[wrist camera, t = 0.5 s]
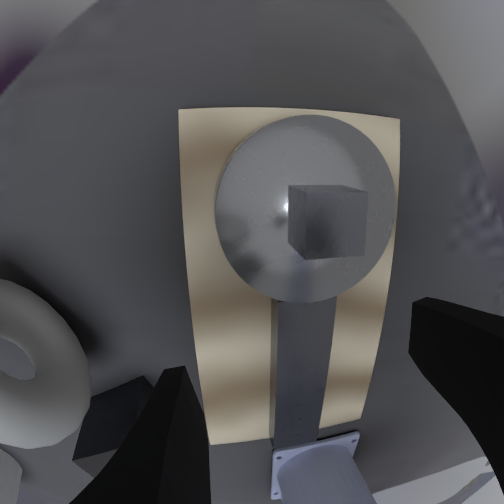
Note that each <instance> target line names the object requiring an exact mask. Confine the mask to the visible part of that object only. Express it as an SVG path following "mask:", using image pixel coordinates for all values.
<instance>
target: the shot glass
mask: <svg viewBox="0 0 504 504" xmlns="http://www.w3.org/2000/svg"><path fill="white" fill-rule="evenodd" d="M22 471H23V470H22V468H21V466H20V465H19V463H18V462H17V461H16V460H15V459H14V458H13V457H11V456H10V455H9V454H8V453H7V452H5V451H3V450H2V449H0V504H16V501H17V496H18V490H19V485H20V480H21V475H22Z"/></svg>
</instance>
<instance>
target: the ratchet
mask: <svg viewBox="0 0 504 504" xmlns="http://www.w3.org/2000/svg"><path fill="white" fill-rule="evenodd" d="M213 214H214V222H215V226H216V230H217V234H218V237H219V241H220V244H221V247H222V249H223V252H224V254H225V256H226V258H227V260H228V261H229V263H230V265H231V267H232V268H233V269H234V270H235V272H236V273H237V274H238V275H239V276H240V277H241V278H242V279H243V280H244V281H245V282H246V283H247V284H248V285H249V286H251V287H252V288H254V289H255V290H256V291H258V292H260V293H262V294H264V295H266V296H268V297H271V354H270V406H269V436H270V440H271V443H272V446H273V450H274V449H280V448H285V447H291V446H296V445H301V444H306V443H311V442H315V441H317V435H318V430H319V425H320V419H321V413H322V408H323V402H324V395H325V389H326V383H327V376H328V369H329V362H330V355H331V347H332V339H333V331H334V322H335V313H336V303H337V295H339V294H341V293H343V292H345V291H347V290H348V289H350V288H352V287H353V286H355V285H356V284H357V283H358V282H360V281H361V280H362V279H363V278H364V277H365V276H366V275H367V274H368V273H369V272H370V271H371V270H372V269H373V268H374V266H375V265H376V264H377V262H378V261H379V259H380V258H381V256H382V255H383V253H384V251H385V249H386V247H387V245H388V242H389V240H390V237H391V234H392V231H393V227H394V223H395V215H396V193H395V186H394V182H393V178H392V175H391V172H390V169H389V166H388V164H387V162H386V161H385V159H384V157H383V155H382V154H381V152H380V151H379V149H378V148H377V147H376V145H375V144H374V143H373V142H372V141H371V140H370V139H369V138H368V137H367V136H366V135H365V134H363V133H362V132H361V131H360V130H358V129H357V128H355V127H354V126H352V125H350V124H348V123H346V122H344V121H341V120H339V119H336V118H332V117H329V116H322V115H298V116H292V117H288V118H285V119H281V120H278V121H275V122H273V123H270V124H267V125H265V126H263V127H261V128H259V129H257V130H255V131H254V132H252V133H251V134H249V135H248V136H247V137H246V138H244V139H243V140H242V141H241V142H240V143H239V144H238V145H237V146H236V147H235V148H234V150H233V151H232V152H231V153H230V155H229V156H228V158H227V159H226V161H225V163H224V164H223V167H222V169H221V171H220V173H219V176H218V179H217V182H216V186H215V191H214V197H213Z"/></svg>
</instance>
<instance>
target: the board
mask: <svg viewBox="0 0 504 504" xmlns="http://www.w3.org/2000/svg"><path fill="white" fill-rule="evenodd" d="M298 115H322V116H329V117H332V118H336V119H339V120H341V121H344V122H346V123H348V124H350V125H352V126H354V127H355V128H357V129H358V130H360V131H361V132H362V133H363V134H365V135H366V136H367V137H368V138H369V139H370V140H371V141H372V142H373V143H374V144H375V145H376V147H377V148H378V149H379V151H380V152H381V154H382V155H383V157H384V159H385V161H386V162H387V164H388V166H389V169H390V172H391V175H392V178H393V182H394V186H395V193H396V215H395V223H394V227H393V231H392V234H391V237H390V240H389V242H388V245H387V247H386V249H385V251H384V253H383V255H382V256H381V258H380V259H379V261H378V262H377V264H376V265H375V266H374V268H373V269H372V270H371V271H370V272H369V273H368V274H367V275H366V276H365V277H364V278H363V279H362V280H361V281H360V282H358V283H357V284H356V285H355V286H353V287H352V288H350V289H348V290H347V291H345V292H343V293H341V294H339V295H337V303H336V313H335V322H334V331H333V339H332V347H331V355H330V362H329V369H328V376H327V383H326V389H325V395H324V402H323V408H322V413H321V419H320V425H319V428H324V427H328V426H332V425H336V424H341V423H345V422H348V421H352V420H356V419H360V418H361V414H362V411H363V407H364V403H365V400H366V396H367V392H368V388H369V384H370V380H371V376H372V372H373V367H374V363H375V359H376V354H377V349H378V344H379V340H380V335H381V329H382V324H383V319H384V313H385V307H386V301H387V295H388V288H389V281H390V274H391V266H392V258H393V250H394V240H395V230H396V219H397V206H398V189H399V164H400V119H395V118H388V117H381V116H374V115H366V114H357V113H348V112H338V111H326V110H312V109H294V108H263V107H229V108H198V109H180V110H179V149H180V175H181V195H182V212H183V227H184V240H185V253H186V265H187V276H188V286H189V296H190V306H191V315H192V324H193V332H194V341H195V349H196V356H197V364H198V371H199V378H200V385H201V392H202V398H203V405H204V411H205V417H206V423H207V429H208V435H209V441H210V445H214V444H225V443H234V442H243V441H251V440H258V439H265V438H270V436H269V406H270V354H271V297H268V296H266V295H264V294H262V293H260V292H258V291H256V290H255V289H254V288H252V287H251V286H249V285H248V284H247V283H246V282H245V281H244V280H243V279H242V278H241V277H240V276H239V275H238V274H237V273H236V272H235V270H234V269H233V268H232V267H231V265H230V263H229V261H228V260H227V258H226V256H225V254H224V252H223V249H222V247H221V244H220V241H219V237H218V234H217V230H216V226H215V222H214V214H213V197H214V191H215V186H216V182H217V179H218V176H219V173H220V171H221V169H222V167H223V164H224V163H225V161H226V159H227V158H228V156H229V155H230V153H231V152H232V151H233V150H234V148H235V147H236V146H237V145H238V144H239V143H240V142H241V141H242V140H243V139H244V138H246V137H247V136H248V135H249V134H251V133H252V132H254V131H255V130H257V129H259V128H261V127H263V126H265V125H267V124H270V123H273V122H275V121H278V120H281V119H285V118H288V117H292V116H298Z"/></svg>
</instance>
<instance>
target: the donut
mask: <svg viewBox="0 0 504 504" xmlns="http://www.w3.org/2000/svg"><path fill="white" fill-rule="evenodd" d="M0 337H2V338H4V339H7V340H10V341H12V342H13V343H14V344H16V345H17V346H19V347H20V348H21V349H22V350H23V351H24V352H25V353H26V354H27V355H28V357H29V358H30V360H31V362H32V363H33V366H34V369H35V377H34V378H33V379H30V380H19V379H16V378H13V377H10V376H8V375H7V374H5V373H4V372H2V371H1V370H0V443H2V444H6V445H11V446H15V447H20V448H25V449H32V448H39V447H45V446H51V445H55V444H56V443H58V442H60V441H61V440H63V439H64V438H66V437H67V436H69V435H70V434H72V433H73V432H75V431H76V430H77V429H78V427H79V425H80V423H81V422H82V420H83V418H84V416H85V415H86V413H87V411H88V409H89V407H90V399H91V390H92V379H91V374H90V369H89V364H88V360H87V357H86V355H85V353H84V351H83V349H82V347H81V345H80V343H79V340H78V338H77V336H76V335H75V334H74V332H73V331H72V330H71V328H70V327H69V325H68V324H67V323H66V321H65V320H64V318H63V317H62V316H60V315H59V314H58V313H57V312H56V311H55V310H54V309H53V308H52V307H51V306H50V305H49V304H48V303H47V302H46V301H44V300H43V299H42V298H40V297H39V296H37V295H36V294H35V293H33V292H32V291H30V290H28V289H26V288H24V287H22V286H20V285H18V284H16V283H14V282H12V281H7V280H3V279H0Z"/></svg>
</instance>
